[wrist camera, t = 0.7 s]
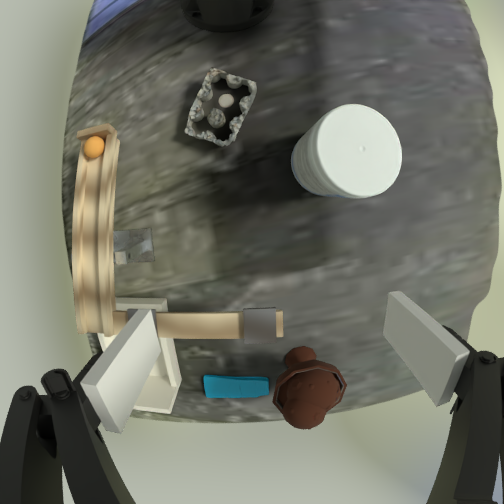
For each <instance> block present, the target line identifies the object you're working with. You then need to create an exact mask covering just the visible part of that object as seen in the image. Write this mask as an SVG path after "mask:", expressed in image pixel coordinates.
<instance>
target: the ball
mask: <svg viewBox="0 0 504 504" xmlns="http://www.w3.org/2000/svg"><path fill="white" fill-rule="evenodd" d="M104 148H105V144H104V141H103V139H102V138H100V137H98V136H93V137H90V138H89V139H88V140H87V141H86V142H85V145H84V152H85V154H86V155H87V156H88V157H90V158H96V157H98V156H100V155H101V154H102V153H103V151H104Z"/></svg>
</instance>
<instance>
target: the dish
mask: <svg viewBox="0 0 504 504" xmlns="http://www.w3.org/2000/svg"><path fill="white" fill-rule="evenodd" d="M115 300H116V310H121V311H127V309H156V312H168V307H167V301H166V298H116V297H115ZM97 334H98V338H99V341H100V344H101V347H102V350H103V352H104V351H105V350H106V349H107V347H108V346H109V345H110V344H111V342H112V341H113V340H114V339H115V337H116V336H117V335H113V336H111V337H104V334H102V333H97ZM158 340H159V345H160V349H161V352H160V354H159V356H158V358H157V360H156V362H155V364H154V366H153V368H152V370H151V372H150V374H149V376H148V378H147V380H146V382H145V384H144V386H143V388H142V391H141V393H140V395H139V397H138V399H137V401H136V403H135V405H134V407H133V409H137V410H144V411H151V412H159V413H168V414H170V413H171V410H172V407H173V404H174V401H175V398H176V395H177V392H178V389H179V386H180V383H181V380H182V379H181V375H180V370H179V366H178V361H177V356H176V351H175V346H174V341H173V338H158Z"/></svg>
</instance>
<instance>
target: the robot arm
mask: <svg viewBox="0 0 504 504" xmlns="http://www.w3.org/2000/svg"><path fill="white" fill-rule="evenodd" d="M273 4H274V0H181V7H182V10H183V12H184V15H185V17H186V18H187V20H188V21H189V22H190V23H192V24H193V25H195V26H196V27H198V28H201V29H204V30H208V31H214V32H231V31H238V30H242V29H246V28H249V27H251V26H254V25H256V24H258V23H259V22H261V21H262V20H264V19H265V18H266V17H267V16H268V15H269V14H270V12H271V10H272V8H273ZM383 335H384V337H385V338H386V339H387V341H388V342H389V343H390V344H391V346H392V347H393V348H394V350H395V351H396V352H397V353H398V355H399V356H400V357H401V359H402V360H403V361H404V363H405V364H406V365H407V367H408V368H409V369H410V371H411V372H412V373H413V375H414V376H415V377H416V379H417V380H418V381H419V383H420V384H421V386H422V387H423V388H424V390H425V391H426V392H427V394H428V395H429V397H430V398H431V399H432V401H433V402H434V404H435V405H436V407H437V406H440V405H442V404H444V403H447V402H449V401H450V399H451V397H452V395H453V393H454V392H455V393H456V394H457V395H458V397H457V399H456V401H455V403H454V405H453V407H452V410H451V411H450V414H452V412H453V411H454V413H453V417H452V422H451V427H450V431H449V436H448V440H447V444H446V448H445V451H444V455H443V458H442V462H441V465H440V468H439V471H438V474H437V477H436V480H435V483H434V485H433V488H432V491H431V493H430V496H429V499H428V501H427V503H426V504H498V503H497V502H494V501H493V500H492V495H493V491H494V486H495V481H496V475H497V469H498V461H499V453H500V461H501V471H502V487H503V504H504V357H503V358H498V357H497V356H496V355H495V354H493V353H492V352H488V351H480V352H477V351H476V350H475V349H474V348H472V346H470V345H469V344H468V343H467V342H466V341H465V340H464V339H463V340H462V338H461V337H460V336H459V335H457V333H456V332H454V331H453V330H452V329H450V328H448V327H446V326H444V325H442V326H441V325H440V324H439V323H438V322H437V321H436V320H434V319H433V318H432V317H431V316H430V315H429V314H427V313H426V312H425V311H424V310H423V309H421V308H420V307H419V306H418V305H417V304H415V303H414V302H413V301H412V300H411V299H409V298H408V297H407V296H406V295H404V294H403V293H402V292H401V291H395V292H389V293H388V302H387V310H386V317H385V324H384V330H383ZM160 352H161V349H160V345H159V341H158V337H157V333H156V329H155V325H154V321H153V316H152V312H151V309H138V311H137V312H136V313H135V314H134V315H133V317H132V318H131V319H130V320H129V321H128V323H127V324H126V325H125V326H124V327H123V329H122V330H121V331H120V332H119V334H118V335H117V336H116V337H115V339H114V340H113V341H112V342H111V344H110V345H109V346H108V347H107V349H106V350H105V351H104V352H99V353H97V354H96V355H94V356H93V357H92V358H91V359H90V360H89V362H88V363H87V364H86V365H85V367H84V368H83V370H81V372H80V373H79V374H78V375H77V377H76V378H75V379H74V380H73V382H72V381H71V378H70V376H69V374H68V372H67V371H66V370H64V369H54V370H51V371H48V372H47V373H46V374H44V375H43V377H42V378H41V383H42V385H43V387H44V389H45V391H46V393H47V394H48V395H39V394H38V393H37V390H36V389H35V387H33V386H23V387H21V388H19V389H18V390H17V391H16V392H15V394H14V396H13V399H12V402H11V405H10V408H9V412H8V415H7V418H6V422H5V426H4V429H3V434H2V437H1V442H0V504H64V503H63V489H62V488H63V487H62V466H63V469H64V473H65V476H66V479H67V483H68V486H69V489H70V492H71V494H72V497H73V500H74V503H75V504H136V503H135V502H134V500H133V498H132V496H131V495H130V493H129V491H128V489H127V488H126V486H125V484H124V482H123V480H122V478H121V476H120V474H119V473H118V471H117V469H116V466H115V465H114V462H113V460H112V458H111V456H110V454H109V452H108V449H107V447H106V445H105V442H104V440H103V438H102V435H101V433H100V431H99V430H98V426H99V424H100V422H101V423H102V424H103V426H104V428H105V429H106V431H111V432H115V433H120V434H121V433H122V431H123V429H124V427H125V424H126V422H127V420H128V418H129V416H130V414H131V412H132V409H133V407H134V405H135V403H136V401H137V399H138V397H139V395H140V393H141V391H142V388H143V386H144V384H145V382H146V380H147V378H148V376H149V374H150V372H151V370H152V368H153V366H154V364H155V362H156V360H157V358H158V356H159V354H160Z"/></svg>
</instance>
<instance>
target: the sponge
mask: <svg viewBox="0 0 504 504" xmlns="http://www.w3.org/2000/svg"><path fill="white" fill-rule="evenodd" d="M268 387H269V379H268V378H267V377H231V376H216V375H204V388H205V393H206V397H209V398H227V397H228V398H242V397H243V398H246V397H259V396H262V395H269V388H268Z"/></svg>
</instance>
